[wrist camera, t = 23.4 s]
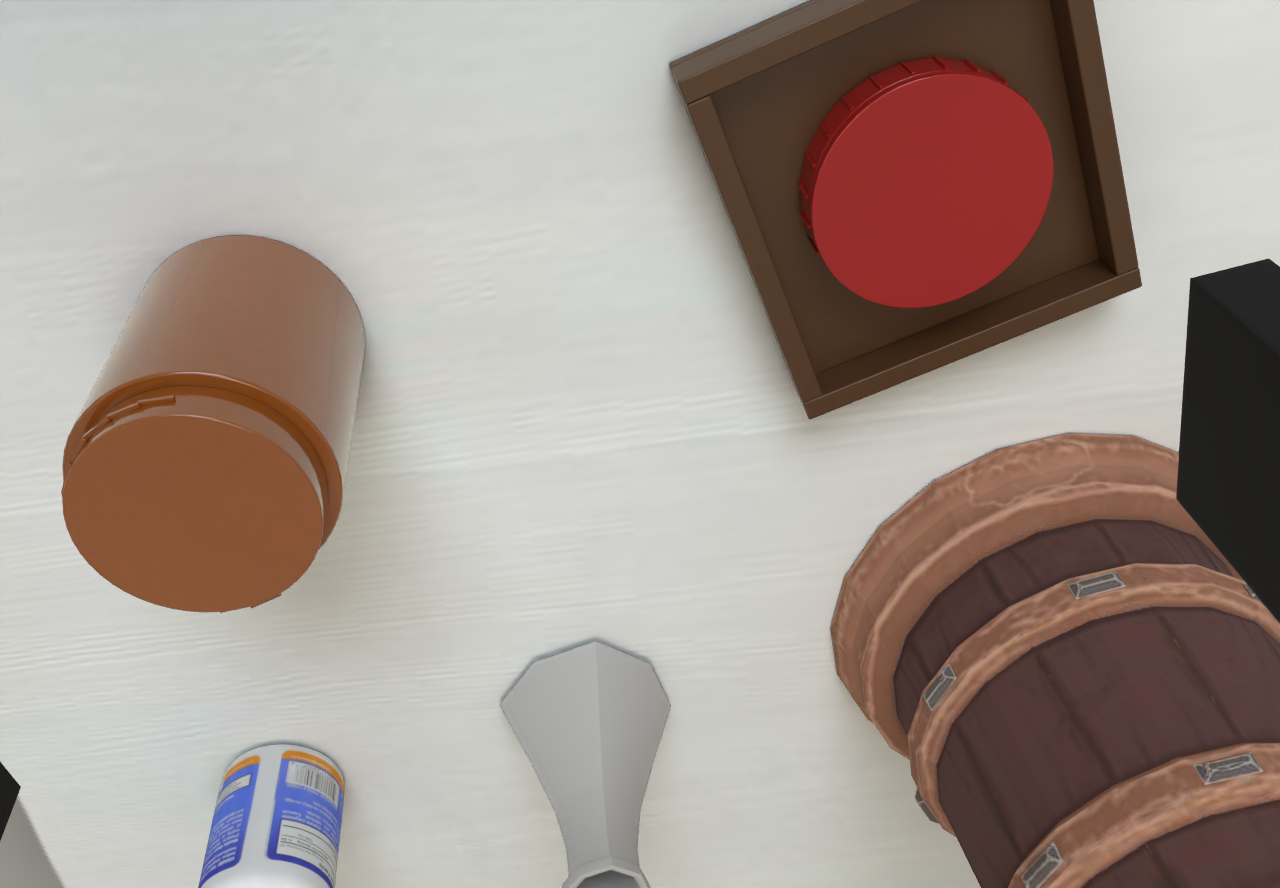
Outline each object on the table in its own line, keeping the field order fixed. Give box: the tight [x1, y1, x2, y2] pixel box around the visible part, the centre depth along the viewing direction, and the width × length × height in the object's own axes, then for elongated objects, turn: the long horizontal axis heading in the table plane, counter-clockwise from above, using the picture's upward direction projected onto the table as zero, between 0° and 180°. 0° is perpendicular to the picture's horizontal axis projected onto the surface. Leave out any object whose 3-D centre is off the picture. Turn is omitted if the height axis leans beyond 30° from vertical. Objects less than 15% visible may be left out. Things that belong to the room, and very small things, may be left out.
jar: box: [61, 235, 365, 613], centre depth 37 cm, size 8×8×10 cm
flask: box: [500, 641, 671, 888], centre depth 49 cm, size 7×7×10 cm
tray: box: [669, 0, 1142, 419], centre depth 40 cm, size 14×13×2 cm
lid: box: [798, 56, 1053, 308], centre depth 39 cm, size 8×8×2 cm
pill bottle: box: [198, 744, 344, 888], centre depth 49 cm, size 5×5×10 cm
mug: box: [831, 433, 1280, 888], centre depth 45 cm, size 18×23×20 cm
